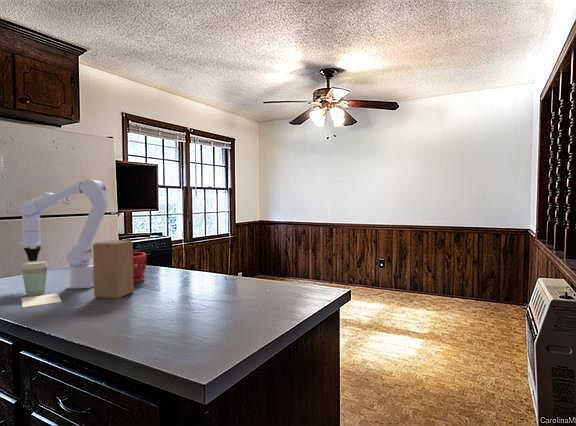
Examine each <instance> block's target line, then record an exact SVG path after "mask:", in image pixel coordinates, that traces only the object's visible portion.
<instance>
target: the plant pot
mask: <svg viewBox="0 0 576 426" xmlns="http://www.w3.org/2000/svg"><path fill="white" fill-rule="evenodd" d="M146 266H147V254H146V252H144V251H143V252H142V251H133V284H135V283H140V282H141V281H144V279H145V277H146V275H145V274H144V273H145V270H146V268H147V267H146Z"/></svg>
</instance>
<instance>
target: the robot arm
mask: <svg viewBox="0 0 576 426" xmlns="http://www.w3.org/2000/svg"><path fill="white" fill-rule="evenodd" d="M107 191H108V188H107V187H106V185H105V183H104V182H103V181H101V180H94V179H90V178H88V179H84V180H83V181H78V182H75V183H74V184H71V185H70V186H68V187H65V188H64V189H62V190H60V191H58V192H55V193H53V192H47V191H46V192H43V193H42V195H40V196H38V197H33V198H31V201H29V200H24V201H22V202H21V203H20V204H19V206H18V211H19V213H20V214H21V215H22V218H21V219H22V237H23V238H22V240H23V241H22V242H19V246H20V245H23V246H28V247H23V251H25V253H26V257H27V260H28V261H27V262H31V261H38V259H39V258H38V256H39V252H40V251H41V248H42V246H41V244H42V241H41V214H42V213H43V212H44V211H47V210H49V209H51V208H55V207H57V206H58V204H59V203H60V201H62V200H64V199H68V198H70V197H73V196H75V195H77V194H84V196H86V197H87V198H88V199H89V201H90V203H91V204H92V206H91V208H90V211H89V212H88V215H87V218H86V221H85V222H84V226H83V228H82V230H81V232H80V235H79V237H78V240H77V241H76V242H75V244H74V245H73V246H72V249H70V251H68V253H67V254H66V258H65V259H66V262H67V263H68V264H69V285H68V286H65V289H66V290H67V289H68V290H69V289H90V288H92V287H93V288H94V267H93V264H91V262H90V260H91V259H92V258H93V244H94V243H93V242H94V240H95V237H96V235H97V232H98V229H99V228H100V226H101V223H102V220H103V218H104V215H105V213H106V211H107V208H108V206H109V199H108V193H107Z"/></svg>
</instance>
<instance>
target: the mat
mask: <svg viewBox="0 0 576 426" xmlns="http://www.w3.org/2000/svg"><path fill="white" fill-rule="evenodd" d="M20 299H21V300H20V301H21V307H22V309H27V308H33V307H37V306H38V307H39V306H46V305H51V304H52V305H53V304H60V303H63V302H62V300H61V297H60V296H59V294H58V293H51V294H49V293H48V294H41V295H36V296H27V297H22V298H20Z"/></svg>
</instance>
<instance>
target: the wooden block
mask: <svg viewBox="0 0 576 426" xmlns="http://www.w3.org/2000/svg"><path fill="white" fill-rule="evenodd" d="M92 245H93V249H92V258H93V259H92V260H93V261H92V262H93V263H92V265H93V267H94V286H93V293H94V294H93V296H94V297H95V298H98V299H113V300H114V299H116V300H117V299H119V298H122V297H125V296H127V295H130V294H132V293H134V290H135V289H134V288H135V287H134V283H133V252H134V251H133V250H134V248H133V241H131V240H121V239H119V240H118V239H117V240H116V239H115V240H113V239H110V240H104V241H97V242H95V243H92Z"/></svg>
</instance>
